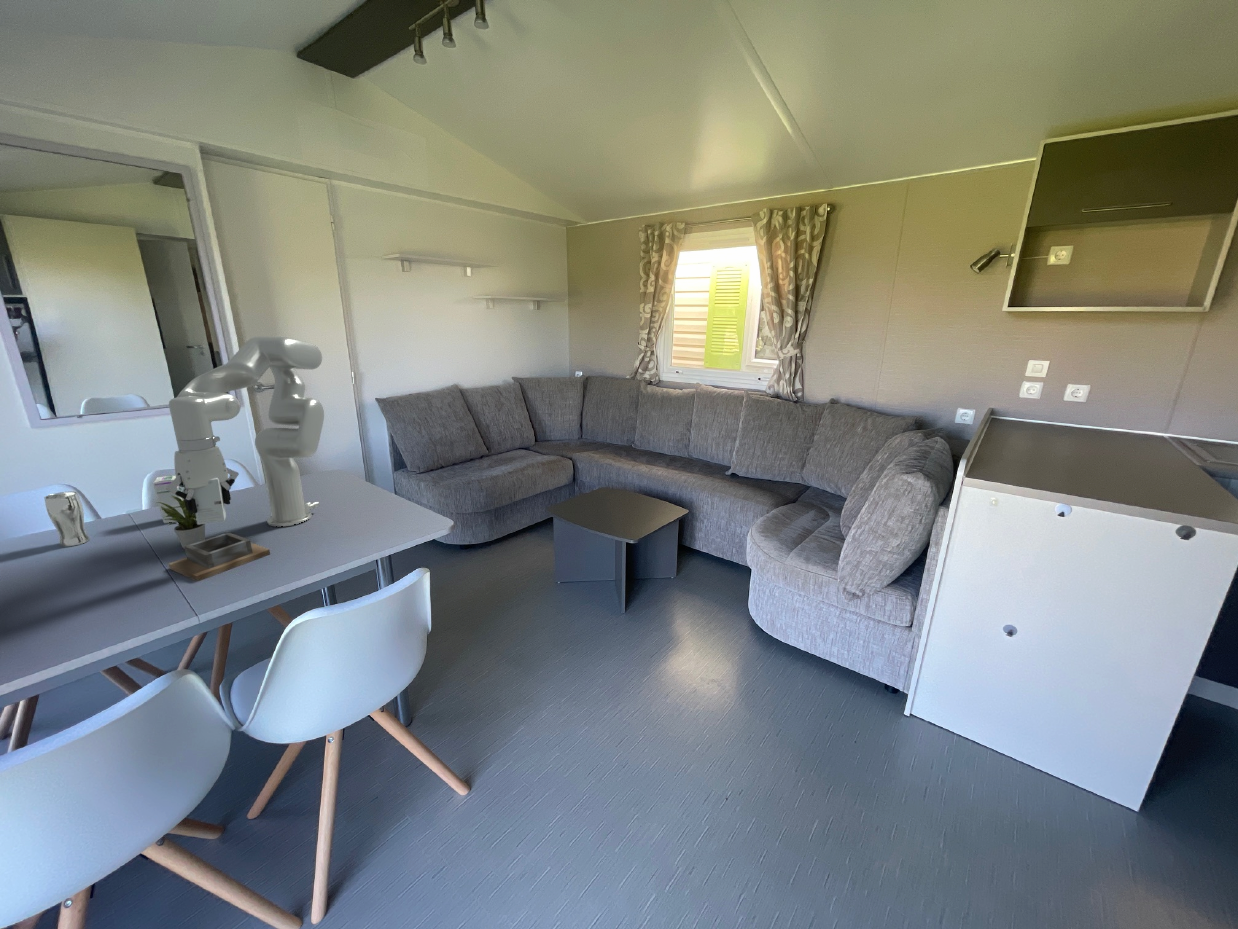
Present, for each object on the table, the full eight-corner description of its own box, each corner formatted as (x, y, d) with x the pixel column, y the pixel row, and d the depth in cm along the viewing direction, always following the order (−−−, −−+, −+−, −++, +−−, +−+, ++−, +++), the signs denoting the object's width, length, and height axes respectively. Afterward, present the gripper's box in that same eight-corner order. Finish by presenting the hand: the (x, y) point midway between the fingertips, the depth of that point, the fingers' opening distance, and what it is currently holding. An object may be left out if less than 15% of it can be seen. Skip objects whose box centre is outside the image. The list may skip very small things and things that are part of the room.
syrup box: (186, 520, 166) (176, 479, 162) (162, 524, 163) (152, 481, 159) (188, 514, 170) (179, 474, 166) (165, 518, 167) (155, 477, 163)
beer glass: (96, 540, 150) (83, 493, 146) (64, 549, 144) (49, 500, 140) (85, 535, 153) (71, 489, 149) (53, 544, 147) (38, 496, 142)
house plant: (224, 530, 160) (214, 481, 155) (232, 544, 150) (221, 493, 146) (165, 542, 150) (153, 491, 145) (169, 558, 141) (156, 504, 136)
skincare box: (197, 525, 133) (187, 482, 130) (199, 519, 137) (190, 477, 133) (226, 521, 136) (217, 478, 133) (227, 515, 140) (219, 474, 137)
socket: (242, 543, 151) (238, 526, 149) (270, 554, 145) (267, 536, 143) (169, 568, 135) (165, 550, 134) (197, 581, 129) (193, 562, 128)
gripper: (225, 436, 140) (237, 496, 145) (147, 449, 125) (163, 515, 129) (241, 439, 137) (252, 500, 141) (163, 453, 121) (178, 521, 126)
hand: (209, 507), depth 135 cm, fingers closed on skincare box, 7 cm apart
